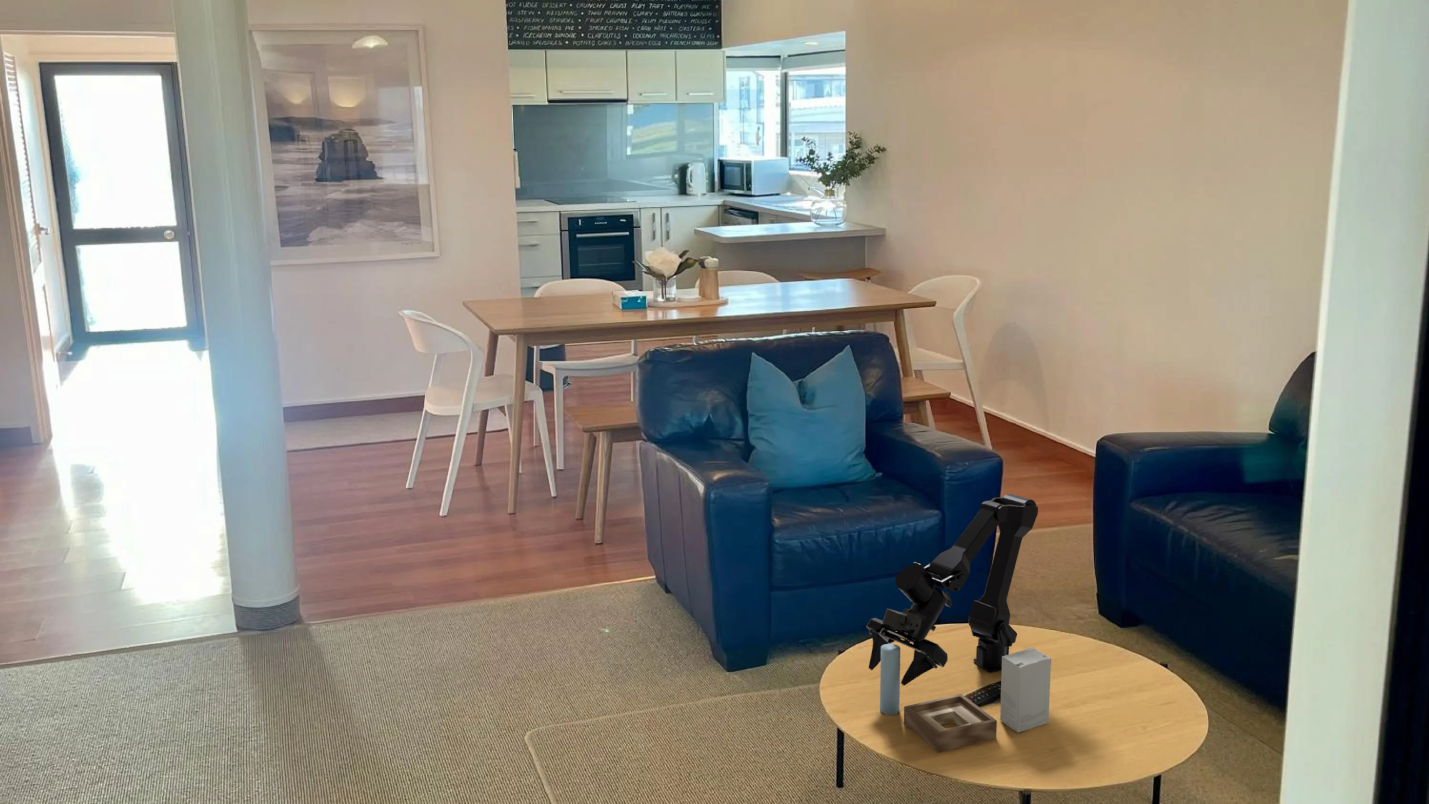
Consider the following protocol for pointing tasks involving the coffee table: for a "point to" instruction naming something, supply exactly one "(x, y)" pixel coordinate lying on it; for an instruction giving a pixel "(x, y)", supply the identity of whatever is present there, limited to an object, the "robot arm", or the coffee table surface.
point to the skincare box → (1025, 689)
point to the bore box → (945, 710)
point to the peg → (890, 679)
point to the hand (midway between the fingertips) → (886, 676)
